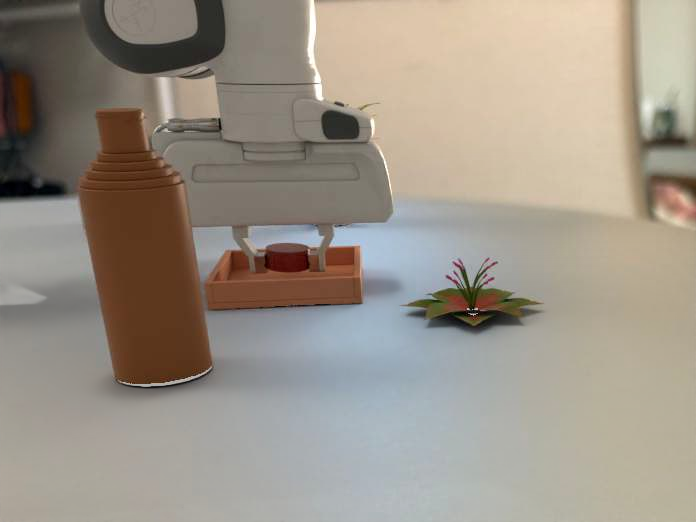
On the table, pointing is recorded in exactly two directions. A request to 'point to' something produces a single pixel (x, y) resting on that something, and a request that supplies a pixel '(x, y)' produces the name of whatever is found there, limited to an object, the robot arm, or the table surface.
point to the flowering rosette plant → (471, 299)
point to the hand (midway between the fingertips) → (289, 271)
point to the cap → (287, 257)
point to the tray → (285, 282)
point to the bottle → (143, 255)
